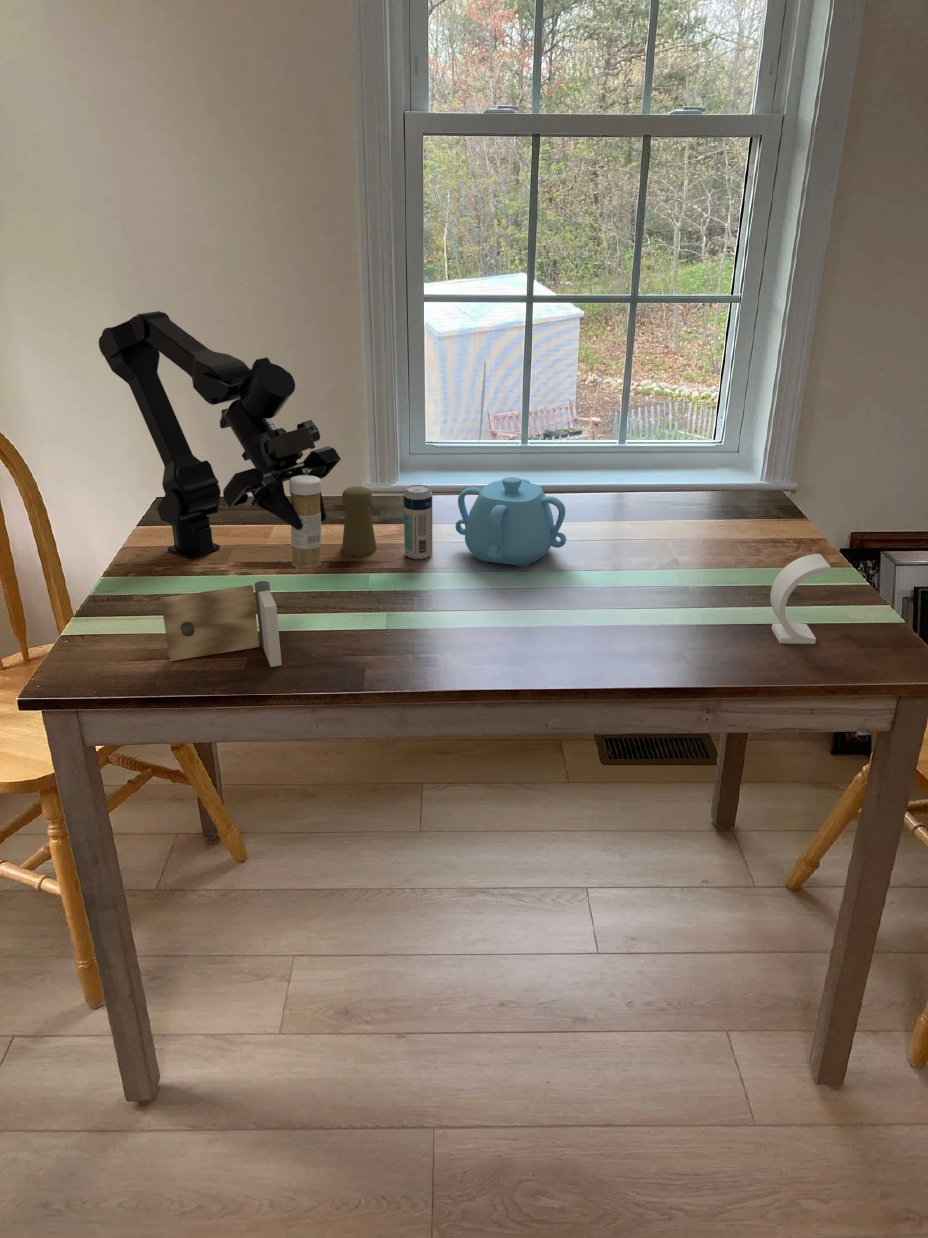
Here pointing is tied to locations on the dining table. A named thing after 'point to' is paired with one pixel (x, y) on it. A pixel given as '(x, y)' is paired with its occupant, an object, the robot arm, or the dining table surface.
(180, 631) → the door
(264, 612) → the door frame
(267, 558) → the dining table surface
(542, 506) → the decorative pot
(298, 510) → the sprinkles bottle
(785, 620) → the headphone stand
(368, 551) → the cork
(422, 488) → the beer can
